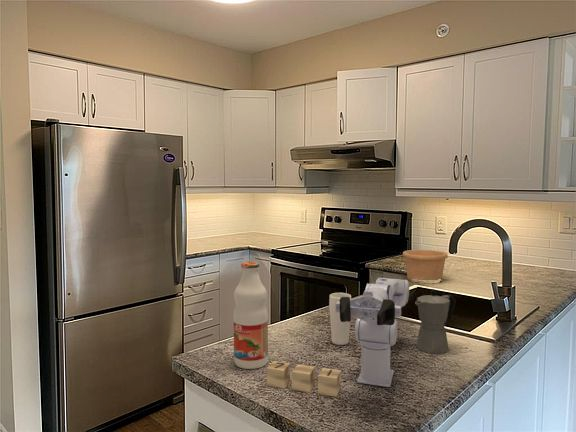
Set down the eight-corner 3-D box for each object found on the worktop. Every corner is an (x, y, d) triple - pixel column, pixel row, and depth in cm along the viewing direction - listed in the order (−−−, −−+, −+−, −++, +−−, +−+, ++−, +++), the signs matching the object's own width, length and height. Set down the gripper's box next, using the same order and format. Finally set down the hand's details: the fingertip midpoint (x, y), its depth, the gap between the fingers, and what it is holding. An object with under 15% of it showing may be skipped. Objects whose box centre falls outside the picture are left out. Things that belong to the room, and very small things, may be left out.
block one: (322, 385, 107) (322, 367, 106) (340, 388, 105) (340, 370, 105) (317, 394, 102) (317, 375, 102) (336, 397, 101) (336, 377, 101)
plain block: (297, 381, 109) (297, 364, 108) (314, 384, 107) (314, 366, 107) (291, 389, 105) (291, 371, 104) (309, 392, 103) (309, 374, 103)
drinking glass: (324, 342, 135) (324, 295, 134) (337, 337, 140) (337, 291, 139) (342, 348, 131) (342, 299, 130) (355, 342, 136) (355, 295, 134)
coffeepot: (426, 357, 123) (427, 295, 122) (404, 346, 132) (405, 288, 131) (466, 349, 130) (467, 289, 129) (442, 338, 138) (444, 283, 137)
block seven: (273, 378, 111) (273, 360, 111) (290, 380, 109) (290, 362, 109) (266, 385, 107) (266, 367, 106) (284, 388, 105) (283, 370, 105)
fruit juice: (275, 363, 120) (274, 262, 118) (248, 373, 114) (247, 267, 112) (253, 353, 127) (252, 258, 125) (227, 362, 121) (225, 262, 119)
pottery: (445, 277, 230) (445, 250, 229) (448, 286, 209) (449, 257, 208) (403, 275, 236) (403, 249, 235) (401, 284, 215) (402, 255, 214)
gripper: (342, 285, 106) (326, 297, 93) (403, 288, 100) (395, 302, 88) (342, 313, 106) (326, 329, 93) (403, 319, 101) (395, 336, 88)
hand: (360, 318), depth 91 cm, fingers open, 7 cm apart
